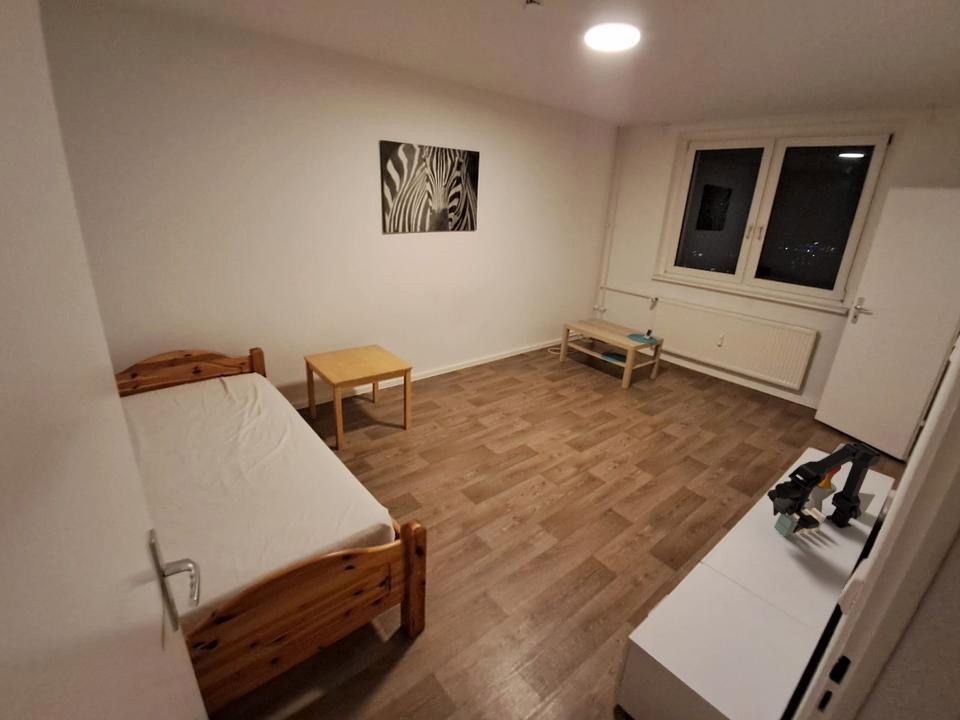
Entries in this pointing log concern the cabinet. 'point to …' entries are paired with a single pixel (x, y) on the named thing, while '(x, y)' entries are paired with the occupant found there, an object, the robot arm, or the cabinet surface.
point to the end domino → (820, 518)
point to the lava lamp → (823, 489)
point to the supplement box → (865, 498)
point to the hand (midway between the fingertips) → (784, 523)
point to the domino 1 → (784, 524)
